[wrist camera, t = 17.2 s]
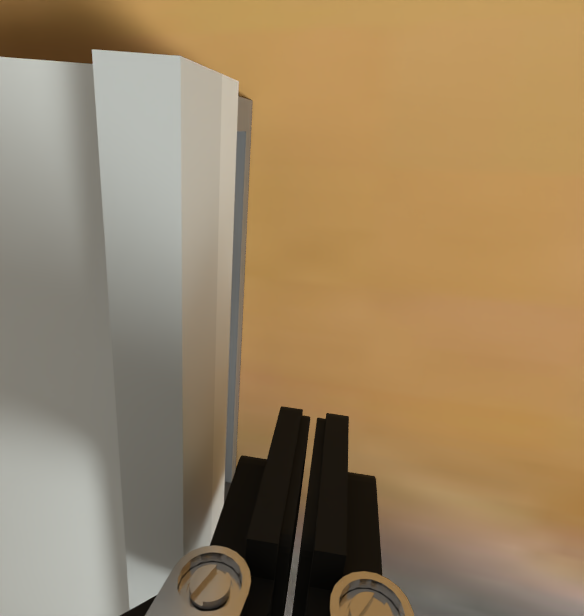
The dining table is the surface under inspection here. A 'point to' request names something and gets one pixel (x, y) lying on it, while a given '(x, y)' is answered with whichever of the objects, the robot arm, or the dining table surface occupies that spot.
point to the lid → (111, 324)
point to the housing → (237, 282)
